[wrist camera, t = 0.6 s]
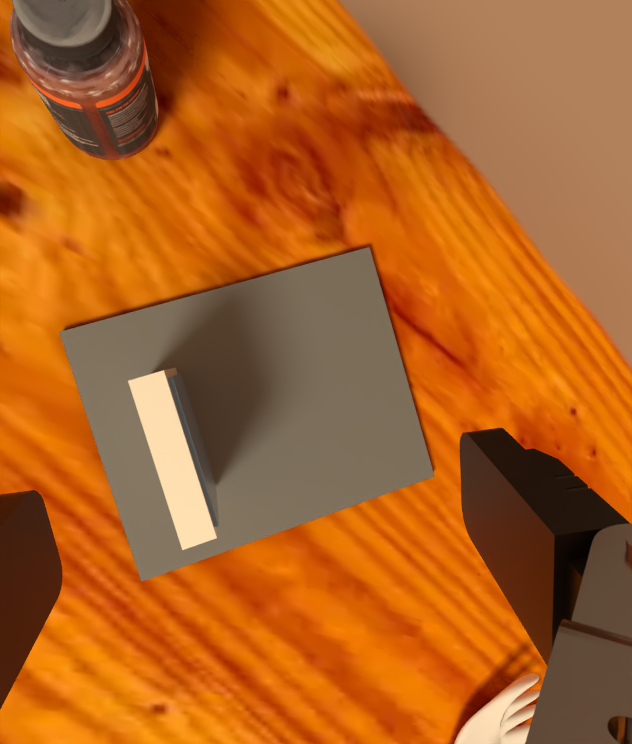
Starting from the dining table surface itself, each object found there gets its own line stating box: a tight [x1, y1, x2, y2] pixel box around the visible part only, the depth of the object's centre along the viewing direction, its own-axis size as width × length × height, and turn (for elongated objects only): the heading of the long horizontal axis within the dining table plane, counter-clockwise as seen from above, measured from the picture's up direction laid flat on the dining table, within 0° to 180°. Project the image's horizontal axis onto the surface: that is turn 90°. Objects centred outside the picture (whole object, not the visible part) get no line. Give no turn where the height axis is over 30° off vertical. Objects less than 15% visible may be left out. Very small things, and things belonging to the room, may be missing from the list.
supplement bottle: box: [10, 0, 158, 160], centre depth 29 cm, size 6×6×11 cm
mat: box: [59, 247, 434, 582], centre depth 36 cm, size 20×16×1 cm
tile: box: [128, 368, 219, 550], centre depth 30 cm, size 8×2×10 cm, turn 17°
